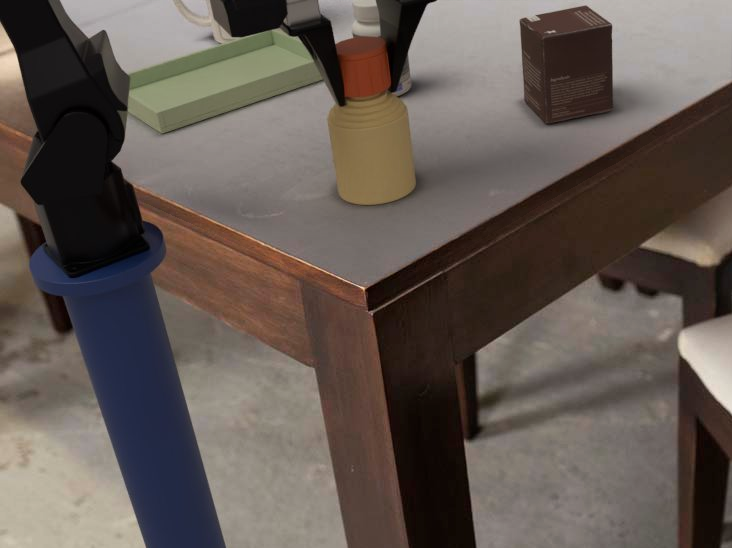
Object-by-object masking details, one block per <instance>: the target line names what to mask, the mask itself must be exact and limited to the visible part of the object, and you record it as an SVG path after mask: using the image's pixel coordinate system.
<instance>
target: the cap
mask: <svg viewBox="0 0 732 548" xmlns="http://www.w3.org/2000/svg"><path fill="white" fill-rule="evenodd" d="M335 44H336V50H337V55H338V60H339V65H340V70H341V75H342V80H343V85H344V96H345V97H367V96H372V95H376V94H379V93H381V92H383V91H385V90H387V89H388V88H389V87H390V85H391V78H390V69H389V61H388V53H387V49H386V42H385V40H384V39H382V38H379V37H371V36H366V37H356V38H353V37H350V38H346V39H343V40H341V41H338V42H336V43H335Z"/></svg>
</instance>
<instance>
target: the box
mask: <svg viewBox="0 0 732 548" xmlns="http://www.w3.org/2000/svg"><path fill="white" fill-rule="evenodd" d="M518 21H519V30H520V47H521V49H520V50H521V65H522V78H523V79H522V80H523V99H524V102H525V104H527V105H528V106H529V107H530V108H531V110H533V111H534V112H535V114H537V116H539V117H540V119H541V120H543V122H544V123H545V124H552V123H557V122H563V121H567V120H572V119H576V118H577V119H578V118H583V117H586V116H592V115H596V114H602V113H607V112H610V111H613V109H614V83H613V81H614V79H613V75H614V74H613V69H614V67H613V24H612V23H611V22H610V21H608V20H607V19H606V18H605V17H603V16H602V15H600V14H599V13H597V12H596V11H594V10H593V9H592V8H590V7H589V6H588V5H580V6H576V7H575V6H574V7H570V8H565V9H561V10H555V11H550V12H545V13H539V14H533V15H529V16H525V17H522V18H519V20H518Z"/></svg>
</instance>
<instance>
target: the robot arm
mask: <svg viewBox="0 0 732 548" xmlns="http://www.w3.org/2000/svg"><path fill="white" fill-rule="evenodd" d="M437 1H438V0H376V4H377V7H378V11H379V17H380V18H379V19H380V34H381V38H382V39H384V40H385V42H386V49H387V53H388V61H389V69H390V78H391V85H390V87H389V88H388V89H387V90H388V91H390V92H391V93H394V92H396V91H397V88H398V85H399V81H400V78H401V75H402V71H403V68H404V65H405V61H406V58H407V55H408V56H409V51H410V48H411V44H412V42H413V39H414V37H415V34H416V32H417V29H418V27H419V25H420V22H421V20H422V18H423V15H424V13H425V11H426V8H427V6H428V5H430V4H432V3H435V2H437ZM210 3H211V8H212V12H213V17H214V20H215V21H216V22H217V23H218V24H219V25H220V26H221V27H222V28H223V29H224V30H225V31H226V32H227V33H228V34H229V35H230V36H231V37H246V36H250V35H254V34H258V33H262V32H266V31H270V30H274V29H278V28H280V29H282V30H283V31H284V32H285V33H286V34H287V35H289V36H291V37H296V38H299V39H300V40H301V42H302V43H303V45H304V46H305V48H306V49H307V51H308V52H309V54H310V56H311V57H312V59H313V61H314V63H315V65H316V67H317V69H318V71H319V72H320V74H321V76H322V78H323V80H322V81H323V82H324V84H325V86H326V88H327V89H328V92H329V94H330V95H331V97H332V99H333V101H334V104H337V105H338V106H339V107H342V106H344V105H345V97H344V85H343V80H342V75H341V70H340V65H339V60H338V55H337V50H336V44H337V43H336V39H335V34H334V30H333V24H332V20H331V19H329V18H327V17H326V16H325V15H323V14H322V13H321V10H320V9H321V8H320V4H319V3H320V2H319V0H210ZM0 24H1V26H2V28H3V30H4V32H5V34H6V36H7V37H8V39H9V41H10V42H11V44H12V47H13V49H14V51H15V55H16V58H17V63H18V66H19V71H20V75H21V80H22V83H23V88H24V92H25V96H26V99H27V100H26V101H27V104H28V107H29V109H30V112H31V115H32V118H33V121H34V124H35V126H36V131H35V132H34V134H33V136H32V138H31V139H32V140H31V143H30V147H29V150H28V152H27V153H28V154H27V157H26V159H25V163H24V167H23V170H22V173H21V177H20V185H21V186H22V187H23V189H24V190H25V191H26V193H27V194H28V195H29V196H30V198H31V199H32V202H33V205H34V208H35V211H36V214H37V218H38V220H39V224H40V226H41V230H42V232H43V236H44V239H45V242H47V243H46V244H44V243H43V244H44V245H43V244H42V245H43V249H44V252H45V253H46V254H47V255H48V256H49V257H50V258H51V260H52V261H53V262H54V263H55V264H56V265H57V266H58V267H59V268H60V269H61V270H62V271H63V272H64V273H65V274H66V275H67V276H68V277H69V278H77V277H79V276H82V275H85V274H87V273H90V272H93V271H95V270H98V269H100V268H103V267H106V266H108V265H111V264H114V263H116V262H119V261H121V260H124V259H127V258H129V257H132V256H135V255H137V254H140V253H143V252H145V251H147V250H149V249H150V246H149V242H148V241H147V240H145V239H144V238H143V237H142V236H141V235H142V234H144V232H145V228H144V224H143V221H144V220H143V216H142V213H141V210H140V205H139V203H138V202H139V201H138V198H137V195H136V191H135V187H134V185H133V184H132V183H131V182H130V181H128V180H127V179H126V178H125V177H124V174H123V170H122V168H121V167H120V166H119V165H118V164H116V163H115V162H114V159H115V158H116V157H117V156H118V155H119V154H120V152H121V151H122V148H123V145H124V143H125V141H126V132H127V131H126V130H127V123H128V122H127V121H128V113H129V112H128V98H129V89H130V79H131V78H130V76H129V75H128V74H127V73H128V72H126V71H125V70H124V69H123V68H122V67H121V65H120V63H119V62H118V61H117V59H116V57H115V54H114V51H113V47H112V44H111V40H110V38H109V35H108V33H107V30H105V29H102V30H100V31H98V32H97V33H95V34H94V35H92V36H91V37H88V36H87V35H86V34H85V33H84V31H83V30H81V28H79V26H78V25H77V24H75V22H74V21H73V20H72V19H71V17H70V15H68V13H67V11H66V10H65V8H64V6H63V3H62V1H61V0H0Z"/></svg>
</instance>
